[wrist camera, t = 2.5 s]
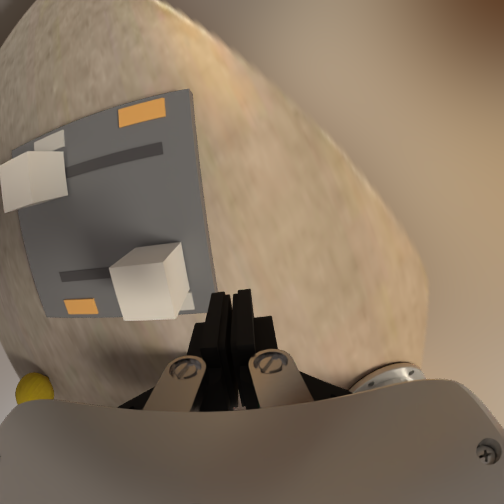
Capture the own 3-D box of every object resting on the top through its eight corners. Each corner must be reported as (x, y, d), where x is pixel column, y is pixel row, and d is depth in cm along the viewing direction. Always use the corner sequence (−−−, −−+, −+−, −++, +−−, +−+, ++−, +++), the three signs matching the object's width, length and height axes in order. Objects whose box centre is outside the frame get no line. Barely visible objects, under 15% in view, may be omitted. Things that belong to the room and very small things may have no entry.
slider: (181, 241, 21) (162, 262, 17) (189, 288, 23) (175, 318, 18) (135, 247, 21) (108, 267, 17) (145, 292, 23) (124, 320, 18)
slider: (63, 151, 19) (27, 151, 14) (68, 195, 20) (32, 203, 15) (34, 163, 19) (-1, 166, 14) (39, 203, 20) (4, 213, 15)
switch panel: (192, 93, 20) (188, 87, 18) (220, 303, 25) (218, 312, 23) (20, 150, 20) (10, 151, 18) (53, 311, 25) (45, 318, 24)
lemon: (67, 394, 29) (44, 431, 22) (42, 387, 29) (19, 419, 22) (53, 366, 28) (25, 402, 20) (28, 359, 28) (0, 390, 20)
